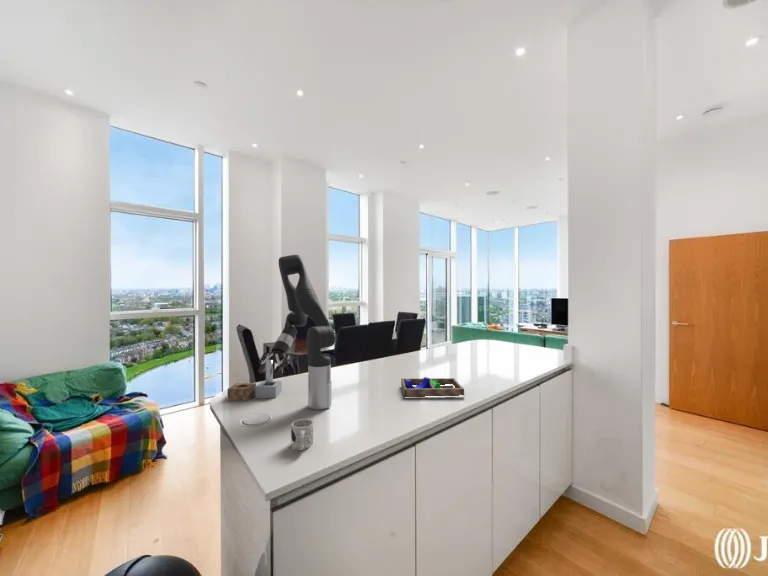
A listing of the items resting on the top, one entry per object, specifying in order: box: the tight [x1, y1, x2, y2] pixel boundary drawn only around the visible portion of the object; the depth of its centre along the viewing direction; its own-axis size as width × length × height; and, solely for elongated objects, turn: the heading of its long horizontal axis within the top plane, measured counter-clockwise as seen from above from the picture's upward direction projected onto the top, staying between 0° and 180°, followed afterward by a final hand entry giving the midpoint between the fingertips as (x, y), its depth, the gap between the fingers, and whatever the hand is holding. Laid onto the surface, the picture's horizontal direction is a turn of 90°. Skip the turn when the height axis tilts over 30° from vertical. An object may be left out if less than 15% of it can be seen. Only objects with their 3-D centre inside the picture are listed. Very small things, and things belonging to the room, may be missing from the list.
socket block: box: [254, 380, 283, 399], centre depth 145 cm, size 9×9×5 cm
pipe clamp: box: [430, 379, 441, 389], centre depth 151 cm, size 11×4×5 cm, turn 2°
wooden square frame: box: [226, 382, 257, 401], centre depth 142 cm, size 9×9×5 cm
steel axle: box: [265, 359, 274, 386], centre depth 145 cm, size 3×3×16 cm
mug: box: [290, 418, 314, 451], centre depth 96 cm, size 10×7×7 cm
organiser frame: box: [400, 377, 465, 398], centre depth 150 cm, size 27×18×4 cm, turn 91°
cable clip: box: [405, 376, 431, 389], centre depth 150 cm, size 12×4×6 cm, turn 118°
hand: (267, 373), depth 144 cm, fingers open, 8 cm apart
